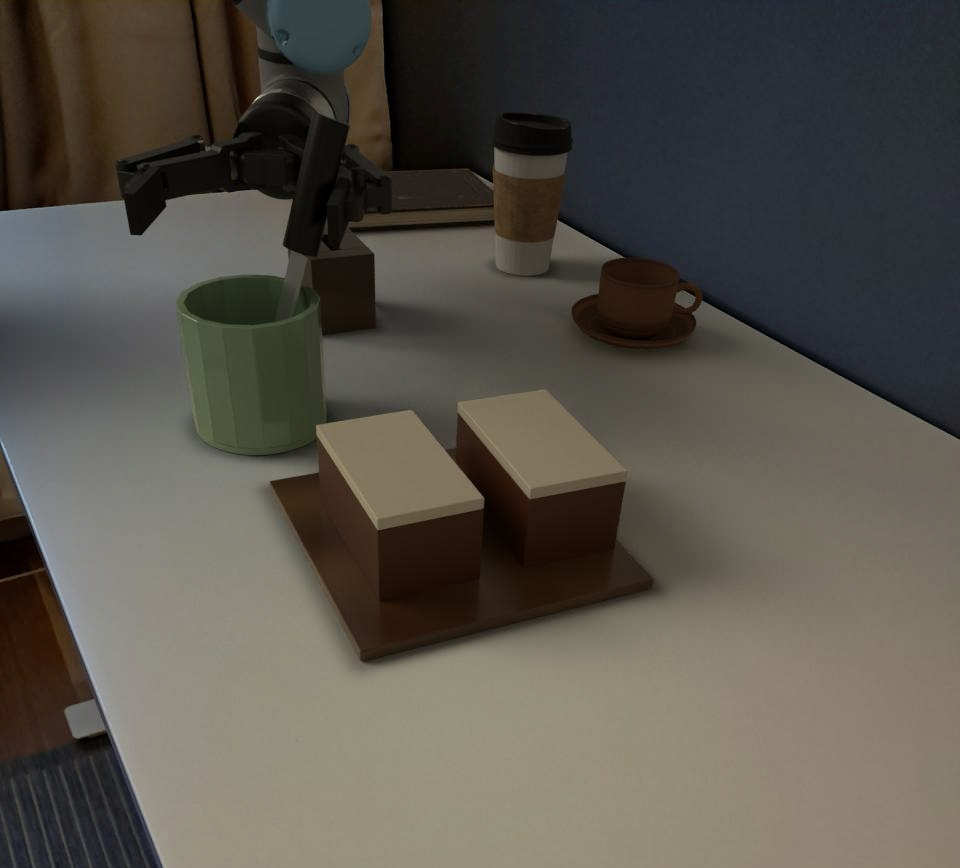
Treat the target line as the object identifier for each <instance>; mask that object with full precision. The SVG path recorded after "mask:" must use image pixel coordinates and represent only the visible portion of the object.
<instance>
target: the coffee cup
mask: <svg viewBox="0 0 960 868" xmlns="http://www.w3.org/2000/svg"><path fill="white" fill-rule="evenodd" d="M490 138H491V140H490V144H491V146H492V147H493V148H494V149H493V150H494V151H493V152H494V153H493V154H494V164H492V184H493V189H492V191H493V192H494V220H495V224H494V235H495V237H494V238H495V239H494V241H495V245H494V247H495V249H494V250H495V251H494V252H495V266H496V268H497V270H499V271H501V272H503V273H505V274H508V275H513V276H520V277H532V276H533V277H535V276H540V275H542V274H545V273H546V272H548V270H549V268H550V263H551V257H552V252H553V245H554V239H555V235H556V231H557V225H558V219H559V214H560V209H561V204H562V197H563V193H564V187H565V183H566V182H565V181H566V178H567V177H566V176H567V169H566V165H567V159H568V154H569V153H570V152H571V151H572V150H573V142H574V140H573V139H574V138H573V137H572V123H571V121H570V120H568V119H566V118H564V117H561V116H558V115H553V114H547V113H537V112H522V111H521V112H520V111H498V112H497V113H496V114H495V117H494V123H493V129H492V132H491V134H490Z"/></svg>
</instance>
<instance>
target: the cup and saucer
mask: <svg viewBox="0 0 960 868" xmlns="http://www.w3.org/2000/svg"><path fill="white" fill-rule="evenodd" d="M680 278H681V274H680V272H679V270H678V269H677V268H676V267H674V266H672V265H670V264H669V263H665V262H663V261H659V260H655V259H651V258H644V257H618V258H617V257H616V258H613V259H610V260H607V261H605V262H604V263H603V264H602V265H601V268H600V276H599V285H598V293H595V294H590V295H587V296H584V297H582V298H581V299H579V300H577V301H576V302H575V303H573V305H572V307H571V319H572V321H573V323H574V324H575V325H576V327H577V328H578V329H579V330H580V331H581V332H582V333H583V334H584V335H586V336H589V337H590V338H592V339H593V340H596V341H598V342H600V343H603V344H606V345H609V346H612V347H618V348H623V349H629V350H659V349H664V348H669V347H672V346H676V345H677V344H680V343H682V342H683V341H685V340H686V339H688V338H689V337H691V336H692V334H693V333H694V332H695V329H696V327H697V318H696V317H695V315H694V314H693V313H695V312H696V311H697V310H698V309H699V308H700V307H701V305H702V303H703V292H702V290H701V288H700V287H699V286H698V285H697V284H694V283H692V282H680ZM682 291H690V292H692V293H693V294H694V297H695V298H694V301H693V303H692V305H690V306H688V307H685V306H683V305H681V304H679V303H677V302H676V298H677V293H680V292H682Z"/></svg>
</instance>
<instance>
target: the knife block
mask: <svg viewBox="0 0 960 868" xmlns="http://www.w3.org/2000/svg"><path fill="white" fill-rule="evenodd" d="M290 254H291V250H289V249H287V260H289V258H290ZM307 257H308V258H307V263H306V267H305V271H304V275H303V279H302V283H303V284H305V285H307V286H309V287H311V288H313V290H314V291H315V292H316V293H317V295H318V296H319V297H320V306H321V323H322V336H324V335H330V334H331V335H332V334H339V333H345V332H354V331H362V330H369V329H370V330H371V329H376V328H377V312H376V311H377V307H376V306H377V305H376V303H377V302H376V262H375V261H376V259H375V253H374V252H373V250H371V249H370V248H369V247H368V246H367V245H366V244H365V243H364V242H363V241H362V240H361V239H360V238H359V237H358V236H357V235H356V234H355V232H352V231H351V230H350V229H349V228H348V227H347V228H346V231H345V233H344V236H343V239H342V241H341V244H340V246H339V247H338V246H329V245H328V228H324V233H323V237H322V241H321V245H320V249H319V253H318V256H317V257H311V256H307Z"/></svg>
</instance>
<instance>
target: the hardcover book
mask: <svg viewBox="0 0 960 868" xmlns="http://www.w3.org/2000/svg"><path fill="white" fill-rule="evenodd" d="M385 172H386V173H387V174H389V175H390V176H391V177H392V213H390V214H385V215H384V214H381V213H377V212H376V211H375V210H374V209H372V208H368V209H367V214H365V215H364V217H363V220H362V221H360V222H349V223H348V226H347V227H348V228H349V229H350V230H351V231H352V232H353V233H357V232H375V231H376V232H377V231H392V230H394V231H395V230H411V229H428V228H445V227H447V228H448V227H463V226H464V227H465V226H467V227H468V226H484V225H495V220H494V190H493V189H491V188H490V186H488V185H487V184H486V183H485V182H484V181H483V180H481V178H479V176H477V175H476V174H475V172H473V171H472V170H471V169H469V168H450V169H449V168H444V169H443V168H442V169H419V170H417V169H416V170H395V171H385ZM325 228H328V226H327V220H326V224H325Z"/></svg>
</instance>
